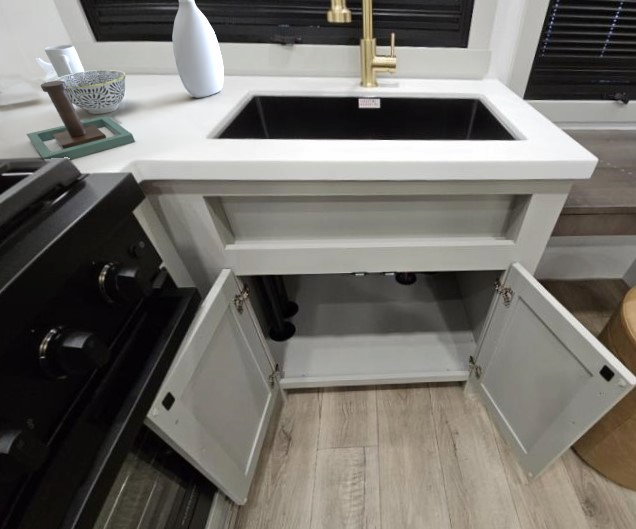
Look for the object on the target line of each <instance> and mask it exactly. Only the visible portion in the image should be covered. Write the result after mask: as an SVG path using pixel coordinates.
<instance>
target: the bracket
mask: <svg viewBox="0 0 636 529" xmlns="http://www.w3.org/2000/svg"><path fill="white" fill-rule="evenodd" d="M35 62H37V64H38V65H39V66H40V67H41V68H42V70H43V71H44V73H46V75H45V76H44V79H43V82H44V83H46V82H52V81H54V80H55V79H57V78H59V77H58V75H57V73H56V71H55V69H54V67H53V65H52V64H51V62H47V61H44V60H43V59H42V58H41V57H36V58H35Z"/></svg>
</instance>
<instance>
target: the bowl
mask: <svg viewBox="0 0 636 529" xmlns="http://www.w3.org/2000/svg"><path fill="white" fill-rule="evenodd" d="M54 81H64V82H65V83H66V86H67V89H65V90H66V92H67V94H68V96H69V98H70V100H71V102H72V104H73V106H77V107H78V108H80V109H83V110H87V111H88V113H89V114H93V115H103V114H109V113H111V112H115V111H117V110H118V109H119V104H120V103H121V102H122V101H123V99H124V97H125V95H126V72H124V71H122V70H118V69H93V70H92V69H91V70H84V72H78V73H73V74H69V75H65V76H62V77H59V78H57V79H55V80H54Z"/></svg>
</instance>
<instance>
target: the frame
mask: <svg viewBox="0 0 636 529" xmlns="http://www.w3.org/2000/svg"><path fill="white" fill-rule="evenodd" d="M81 122H82V125H83V127H86V126H90V125H94V126H95V127H97V128H98V129H99V128H103V127H106V128H107V129H108V130H109V129H110V130H109V131H111V132H112V133H113V134H114V135H113V136H112V135H111V136H109V137H106V138H105V139H101V140H97V141H93V142H89V143H85V144H82V145H78V146H74V147H70V148H66V149H62V148H61V149H59V150H55V151H51V150H50V149H49V148H48V147H47V145H46V144H45V141H49V140H53V139H54V140H55V138H54V136H53V134H56V133H60V132H64V131H67V129H66V127H65V125H64V124H63V125H60V126H56V127H51V128H46V129H42V130H38V131H34V132H30V133H26V136H27V138H28V139H29V141H30V142H31V144H32V145H33V147H35V150H36V151H37V152H38V154H39V155H40V157H41V158H42V160H44V159H51V158H64V157H68V158H70V159H71V160H74V159H77V158H81V157H84V156H88V155H92V154H95V153H99V152H103V151H107V150H110V149H113V148H117V147H121V146H125V145H128V144H132V143H134V142H136V140H135V138H134V135H133V134H132V132H130V131H128V130H127V129H126V128H124V127H123V126H122V125H120V124H119V123H118V122H117V121H115V120H114V119H113V118H111V117H109V116H108V115H103V116H99V117H94V118H91V119H90V118H89V119H86V120H82V121H81Z"/></svg>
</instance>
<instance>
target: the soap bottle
mask: <svg viewBox="0 0 636 529" xmlns="http://www.w3.org/2000/svg"><path fill="white" fill-rule="evenodd" d="M171 38H172V39H171V40H172V48H173V55H174V61H175V66H176V69H177V72H178V76H179V78H180V81H181V83H182V86H183V88H184V89H185V90H186V91H187V92H188V94H189V95H190V96H191V97H192V98H196V99H200V98H201V99H202V98H206V97H209V96H213V95H215V94H218V93H220V92H221V91H222V89H223V85H224V80H225V75H224V74H225V73H224V63H223V57H222V53H221V49H220V45H219V41H218V39H217V35H216V34H215V31H214V29H213V27H212V25H211V24H210V22H209V20H208V18H207V17H206V16H205V15H204V13H202V11H201V10H200V9H199V7H198V6H197V5H196V2H195V0H178V10H177V13H176V15H175V18H174V22H173V27H172V35H171Z"/></svg>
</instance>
